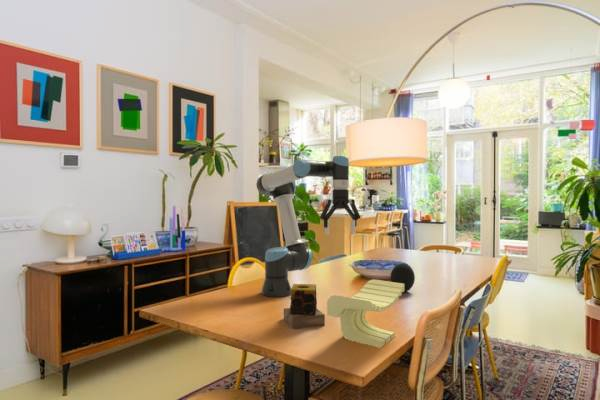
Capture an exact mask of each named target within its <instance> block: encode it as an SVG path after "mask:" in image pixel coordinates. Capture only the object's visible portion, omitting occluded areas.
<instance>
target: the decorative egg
mask: <svg viewBox="0 0 600 400" xmlns="http://www.w3.org/2000/svg"><path fill="white" fill-rule="evenodd" d="M415 277H416V276H415V272H414V269H413V268H412V267H411V266H410V265H409V264H407V263H404V262H401V263H397V264H396V265H395V266H394V267H393V268H392V270H391V272H390V282H396V283H403V284H404V292H403V293H406V292H409V291H410V290H411V289H412V287H413V286H414V285H415V280H416V279H415Z"/></svg>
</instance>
